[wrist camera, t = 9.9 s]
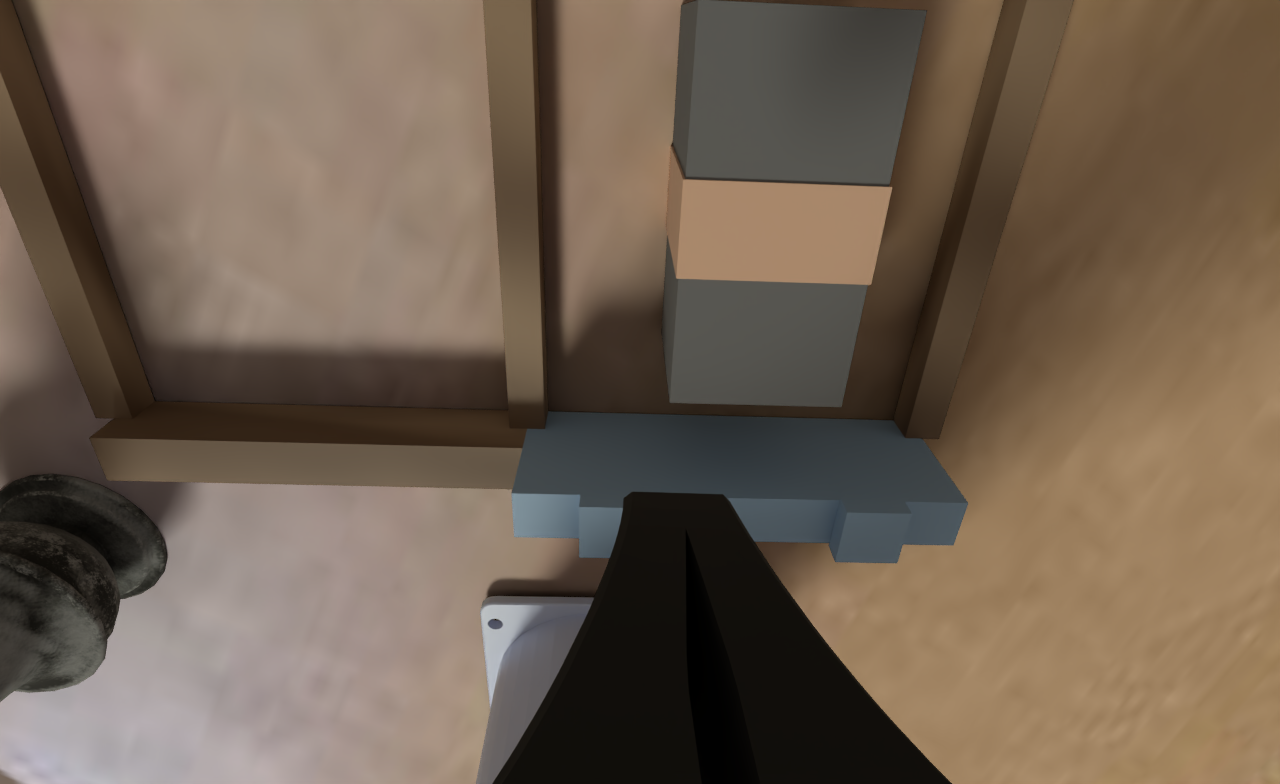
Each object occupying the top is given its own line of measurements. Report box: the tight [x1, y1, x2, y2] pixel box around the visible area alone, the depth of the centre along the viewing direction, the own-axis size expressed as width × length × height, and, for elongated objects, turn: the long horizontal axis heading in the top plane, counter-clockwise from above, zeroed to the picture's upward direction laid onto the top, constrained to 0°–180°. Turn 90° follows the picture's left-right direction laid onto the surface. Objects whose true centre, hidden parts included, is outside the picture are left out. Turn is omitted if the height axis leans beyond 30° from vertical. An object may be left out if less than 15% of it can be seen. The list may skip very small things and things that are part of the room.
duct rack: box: [0, 0, 1074, 563], centre depth 16 cm, size 13×24×5 cm, turn 88°
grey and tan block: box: [661, 0, 927, 407], centre depth 15 cm, size 8×4×4 cm, turn 178°
